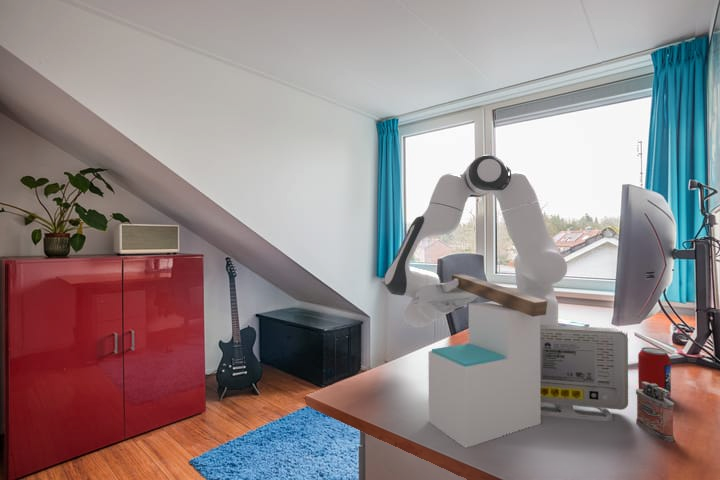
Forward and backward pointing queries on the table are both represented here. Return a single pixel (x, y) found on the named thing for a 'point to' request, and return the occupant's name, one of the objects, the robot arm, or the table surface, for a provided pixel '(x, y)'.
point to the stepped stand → (487, 377)
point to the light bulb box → (571, 323)
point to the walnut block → (502, 295)
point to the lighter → (655, 411)
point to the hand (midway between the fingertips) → (466, 280)
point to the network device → (583, 370)
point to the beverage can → (654, 368)
